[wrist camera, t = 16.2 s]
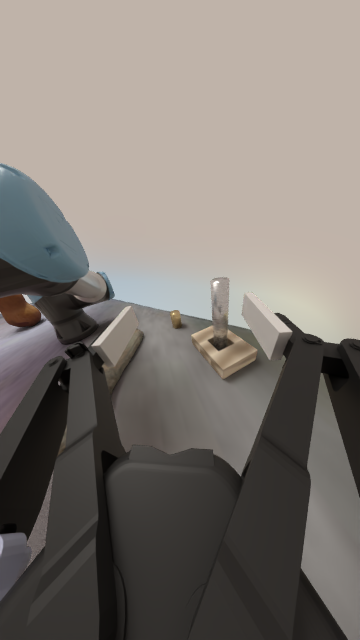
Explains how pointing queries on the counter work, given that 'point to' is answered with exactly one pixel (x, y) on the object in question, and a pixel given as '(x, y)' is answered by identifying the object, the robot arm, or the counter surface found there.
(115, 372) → the elongated rock
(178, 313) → the brass stub pin
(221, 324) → the steel pin
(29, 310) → the butternut squash
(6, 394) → the counter surface
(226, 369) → the guide block
